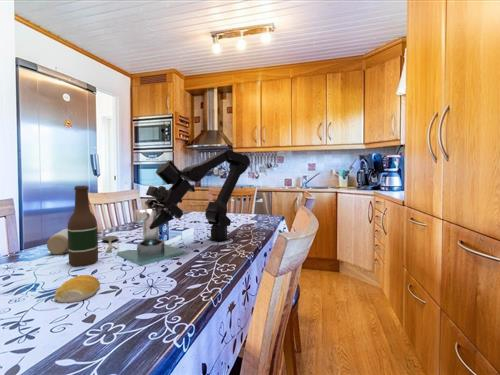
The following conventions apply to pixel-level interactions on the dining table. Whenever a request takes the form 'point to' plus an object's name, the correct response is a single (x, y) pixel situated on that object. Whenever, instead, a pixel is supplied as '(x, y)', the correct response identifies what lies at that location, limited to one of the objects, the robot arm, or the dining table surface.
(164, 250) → the duct collar
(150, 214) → the metal bottle
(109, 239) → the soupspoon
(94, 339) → the dining table surface
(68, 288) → the bread roll
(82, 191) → the beer bottle
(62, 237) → the beige cylinder
